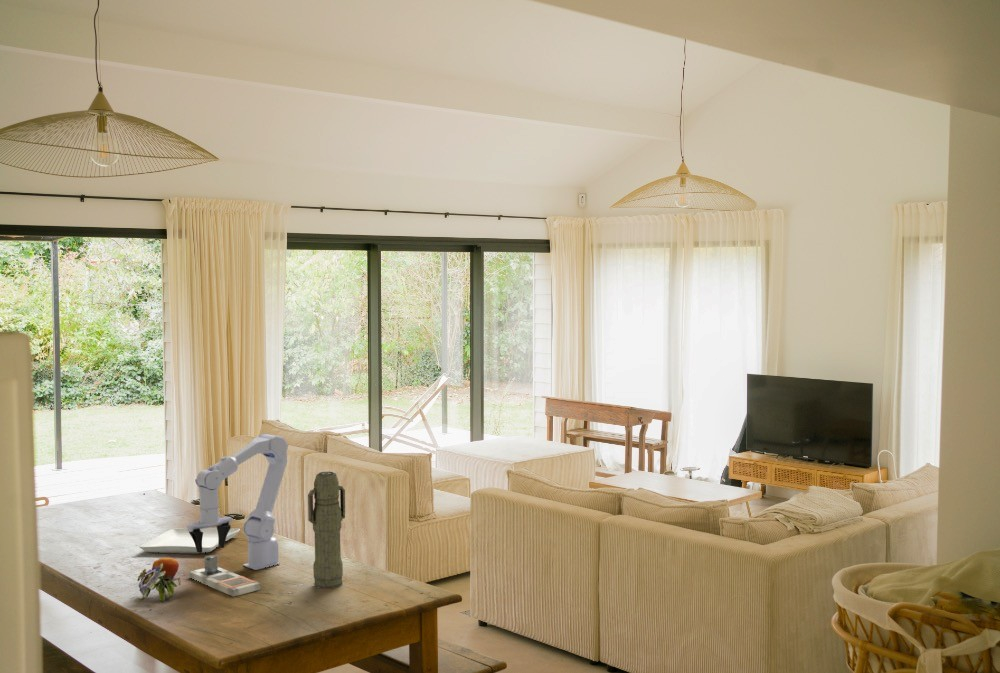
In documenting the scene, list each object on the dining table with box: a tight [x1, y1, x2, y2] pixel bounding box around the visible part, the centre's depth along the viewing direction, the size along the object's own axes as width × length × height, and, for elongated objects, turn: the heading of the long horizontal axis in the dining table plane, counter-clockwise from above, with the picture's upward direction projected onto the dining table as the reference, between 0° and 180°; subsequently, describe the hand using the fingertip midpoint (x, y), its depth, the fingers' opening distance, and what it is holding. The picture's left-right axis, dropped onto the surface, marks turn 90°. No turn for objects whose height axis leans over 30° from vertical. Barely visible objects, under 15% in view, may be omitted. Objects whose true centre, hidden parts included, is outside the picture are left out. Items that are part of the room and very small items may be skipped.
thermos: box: [307, 471, 346, 589], centre depth 287 cm, size 9×12×35 cm
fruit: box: [151, 556, 180, 581], centre depth 296 cm, size 8×8×8 cm
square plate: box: [139, 527, 241, 554], centre depth 336 cm, size 27×27×4 cm
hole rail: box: [188, 566, 261, 597], centre depth 290 cm, size 9×28×2 cm, turn 45°
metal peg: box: [203, 554, 219, 576], centre depth 295 cm, size 4×4×7 cm
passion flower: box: [137, 563, 182, 602], centre depth 278 cm, size 11×11×12 cm
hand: (210, 549), depth 295 cm, fingers open, 7 cm apart
